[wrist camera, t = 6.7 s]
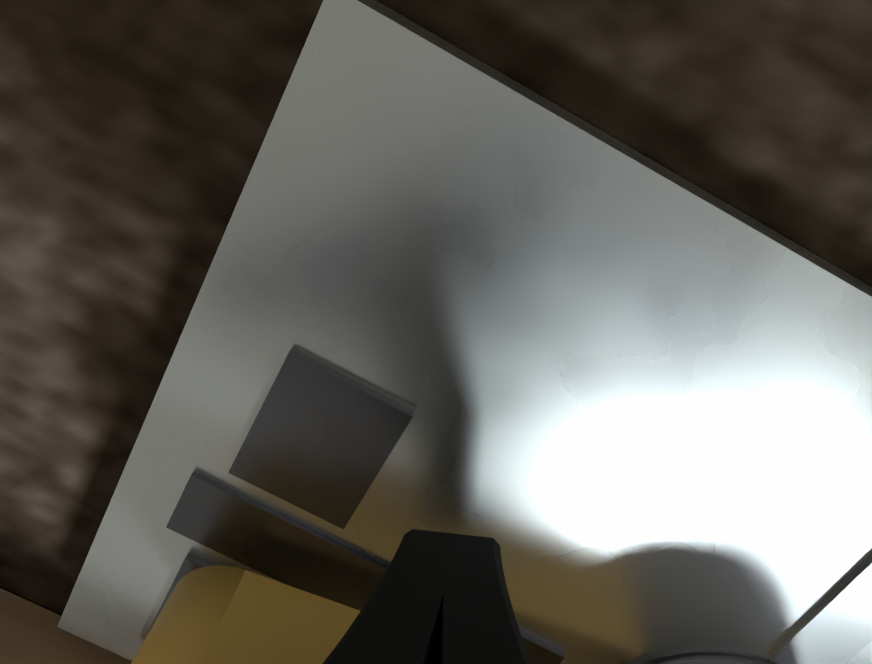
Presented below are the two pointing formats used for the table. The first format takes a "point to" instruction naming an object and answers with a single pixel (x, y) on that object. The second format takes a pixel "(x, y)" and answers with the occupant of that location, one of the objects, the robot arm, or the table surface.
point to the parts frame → (43, 637)
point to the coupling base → (504, 380)
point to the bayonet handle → (243, 622)
